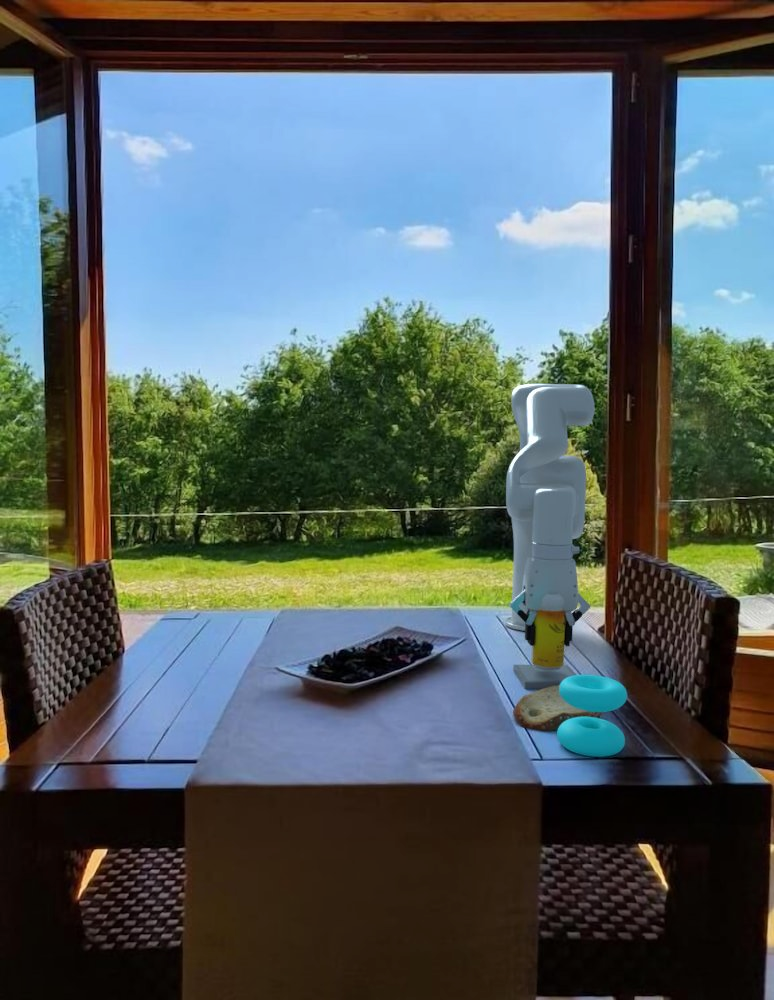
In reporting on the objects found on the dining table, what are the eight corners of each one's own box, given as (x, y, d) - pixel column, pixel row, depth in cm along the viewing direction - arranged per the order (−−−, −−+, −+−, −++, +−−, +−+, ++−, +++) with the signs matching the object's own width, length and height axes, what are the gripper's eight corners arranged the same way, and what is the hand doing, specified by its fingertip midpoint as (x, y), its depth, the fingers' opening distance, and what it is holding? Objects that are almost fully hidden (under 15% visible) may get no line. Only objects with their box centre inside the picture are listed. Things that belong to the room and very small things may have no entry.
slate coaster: (513, 670, 154) (513, 664, 154) (567, 671, 154) (567, 664, 154) (524, 688, 143) (524, 681, 143) (583, 689, 144) (583, 682, 143)
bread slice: (589, 694, 142) (590, 674, 141) (630, 732, 124) (631, 709, 124) (494, 696, 140) (495, 676, 140) (522, 734, 122) (522, 711, 122)
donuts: (641, 685, 115) (597, 697, 109) (638, 750, 116) (594, 765, 110) (589, 668, 123) (545, 678, 117) (586, 729, 124) (543, 742, 118)
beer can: (563, 672, 145) (566, 594, 144) (531, 670, 146) (534, 592, 145) (563, 663, 151) (566, 588, 150) (531, 660, 152) (534, 586, 151)
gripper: (590, 549, 151) (586, 639, 152) (503, 548, 150) (500, 638, 152) (602, 556, 143) (598, 650, 145) (510, 554, 143) (507, 649, 144)
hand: (548, 643), depth 148 cm, fingers closed on beer can, 6 cm apart
